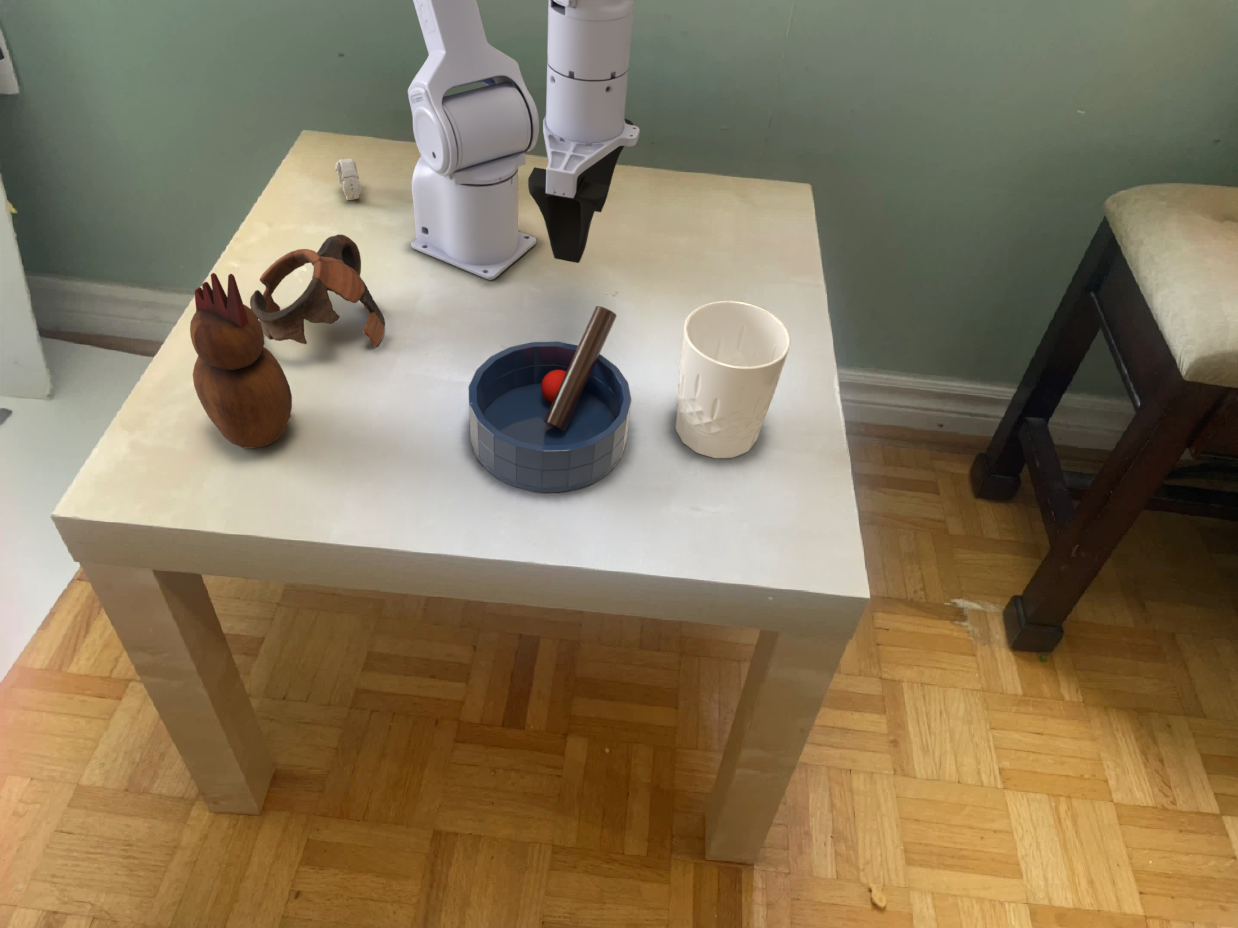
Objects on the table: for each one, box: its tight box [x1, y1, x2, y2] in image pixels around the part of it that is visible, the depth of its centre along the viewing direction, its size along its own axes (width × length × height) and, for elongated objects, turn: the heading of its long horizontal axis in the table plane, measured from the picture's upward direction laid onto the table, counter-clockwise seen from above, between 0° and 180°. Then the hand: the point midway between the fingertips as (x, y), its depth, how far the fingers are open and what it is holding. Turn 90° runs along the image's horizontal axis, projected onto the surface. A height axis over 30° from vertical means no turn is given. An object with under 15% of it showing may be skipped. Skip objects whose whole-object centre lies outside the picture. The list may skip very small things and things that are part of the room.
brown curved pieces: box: [249, 233, 386, 347], centre depth 78 cm, size 12×10×8 cm
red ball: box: [541, 370, 566, 403], centre depth 74 cm, size 3×3×3 cm
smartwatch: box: [334, 158, 362, 201], centre depth 92 cm, size 4×2×4 cm, turn 20°
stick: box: [544, 305, 617, 431], centre depth 72 cm, size 2×2×10 cm
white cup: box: [675, 300, 792, 459], centre depth 71 cm, size 8×8×10 cm
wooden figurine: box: [189, 272, 293, 449], centre depth 65 cm, size 7×6×15 cm
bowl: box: [468, 340, 632, 493], centre depth 71 cm, size 12×12×4 cm
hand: (579, 232), depth 74 cm, fingers open, 7 cm apart
